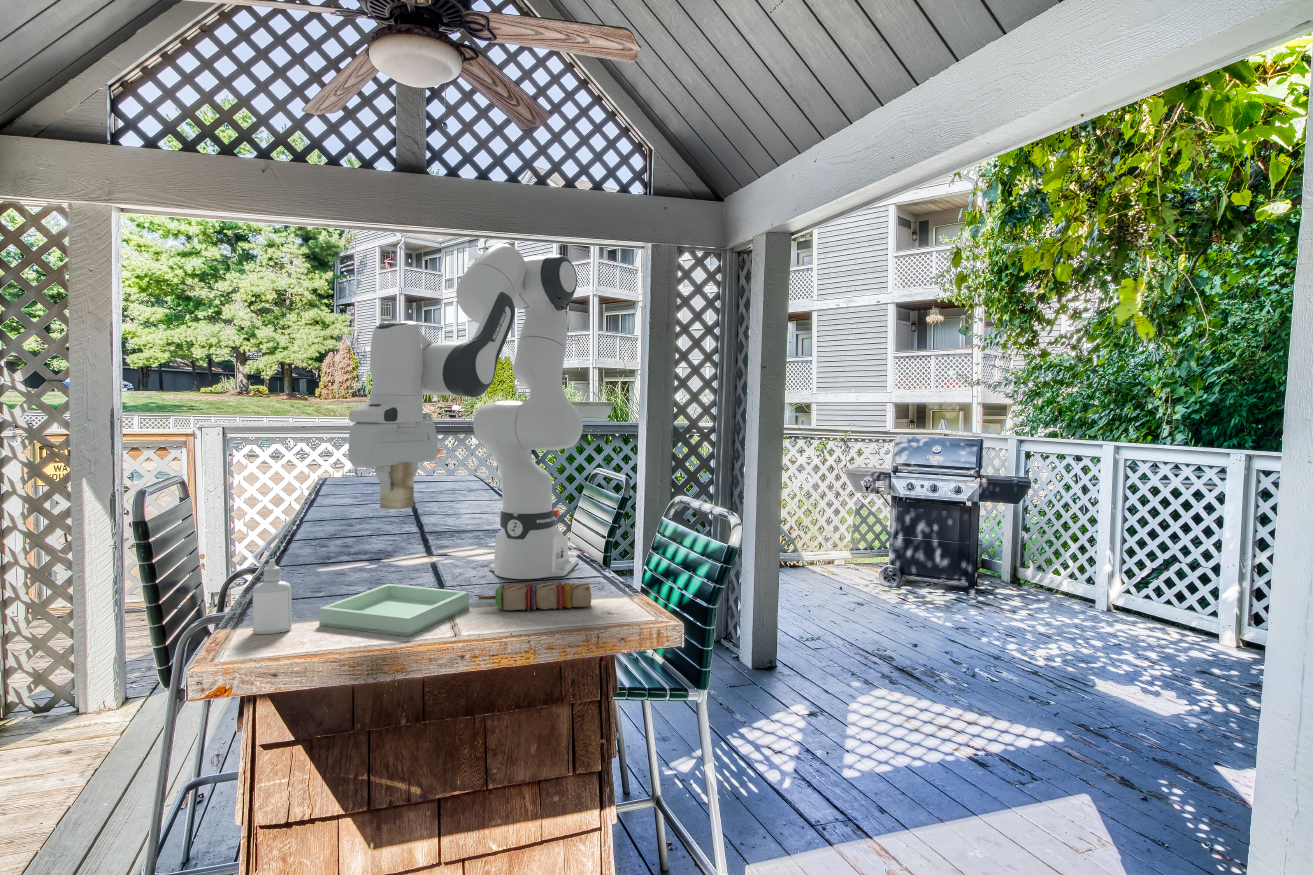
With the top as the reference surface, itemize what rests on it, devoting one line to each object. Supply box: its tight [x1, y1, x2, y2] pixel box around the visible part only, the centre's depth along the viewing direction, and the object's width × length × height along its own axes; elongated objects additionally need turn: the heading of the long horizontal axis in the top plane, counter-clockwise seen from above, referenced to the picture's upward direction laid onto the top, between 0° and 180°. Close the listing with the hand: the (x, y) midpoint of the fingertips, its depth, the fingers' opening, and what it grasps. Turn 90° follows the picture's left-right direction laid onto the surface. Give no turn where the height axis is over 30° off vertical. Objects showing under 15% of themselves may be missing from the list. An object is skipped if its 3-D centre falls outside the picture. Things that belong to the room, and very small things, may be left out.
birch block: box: [379, 462, 415, 510], centre depth 128 cm, size 4×4×8 cm
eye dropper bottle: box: [252, 559, 293, 635], centre depth 120 cm, size 4×6×12 cm
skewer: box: [478, 581, 592, 611], centre depth 136 cm, size 21×6×5 cm, turn 99°
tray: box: [318, 583, 470, 638], centre depth 129 cm, size 18×18×3 cm
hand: (396, 489), depth 128 cm, fingers closed on birch block, 4 cm apart
